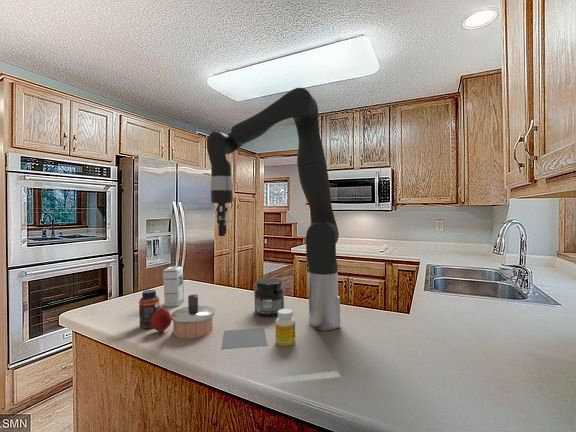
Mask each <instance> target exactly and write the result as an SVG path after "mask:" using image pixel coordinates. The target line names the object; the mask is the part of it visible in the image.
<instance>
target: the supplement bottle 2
mask: <svg viewBox="0 0 576 432" xmlns="http://www.w3.org/2000/svg"><path fill="white" fill-rule="evenodd" d="M293 315H294V314H293V310H292V309H290V308H284V309H280V310H279V311H278V316H277V318H276V320H275V345H277V346H278V347H283V348H284V347H286V348H287V347H292V346H294V345H295V344H296V320H295V318H294V317H293Z"/></svg>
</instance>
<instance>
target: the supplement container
mask: <svg viewBox="0 0 576 432" xmlns="http://www.w3.org/2000/svg"><path fill="white" fill-rule="evenodd" d="M254 284H255V289H254V290H253V295H254V314H255V316H257V317H260V318H276V317H278V311H279V310H280V309H285V289H284V288H283V286H284V285H283V284H284V283H283V280H282V279H280V278H275V277H265V278H260V279H257V280H256V281H255V283H254Z"/></svg>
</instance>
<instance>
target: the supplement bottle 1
mask: <svg viewBox="0 0 576 432" xmlns="http://www.w3.org/2000/svg"><path fill="white" fill-rule="evenodd" d="M156 292H157V290H156V289H145V290H144V291H142V292H141V293H142V296H141V298H140V299H139V301H138V307H139V308H138V311H139V313H138V315H139V327H140V328H141V329H145V330H146V329H147V330H148V329H154V328H153V327H152V325H151V317H152V315H153V314H154V313H155V312H156V311H157V310H158V307H159V306H160V297H158V295H157V293H156Z"/></svg>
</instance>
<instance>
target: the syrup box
mask: <svg viewBox="0 0 576 432" xmlns="http://www.w3.org/2000/svg"><path fill="white" fill-rule="evenodd" d="M162 270H163V271H162V275H163V276H162V277H163V295H164V296H163V297H164V306H165V307H180V306H181V305H182V304H184V302H185V292H184V291H185V290H184V268H183V266H169V267H167V268H165V269H162Z"/></svg>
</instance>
